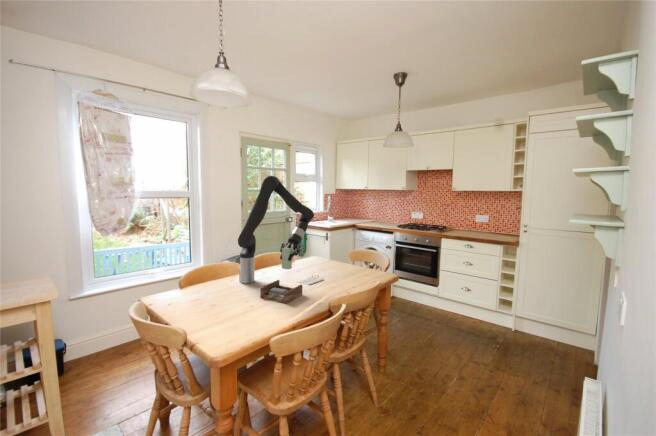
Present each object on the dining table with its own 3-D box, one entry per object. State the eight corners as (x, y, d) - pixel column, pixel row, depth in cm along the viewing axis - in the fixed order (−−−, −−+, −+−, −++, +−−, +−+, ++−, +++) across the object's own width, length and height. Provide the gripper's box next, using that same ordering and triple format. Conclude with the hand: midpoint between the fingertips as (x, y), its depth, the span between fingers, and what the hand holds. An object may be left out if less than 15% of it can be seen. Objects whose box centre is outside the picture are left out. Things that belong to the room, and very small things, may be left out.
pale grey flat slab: (278, 288, 183) (291, 293, 175) (278, 284, 182) (291, 288, 175) (311, 277, 207) (323, 281, 199) (311, 273, 206) (323, 277, 199)
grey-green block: (281, 268, 168) (281, 248, 166) (284, 267, 170) (284, 247, 169) (288, 269, 165) (288, 249, 164) (291, 268, 168) (291, 248, 167)
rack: (260, 299, 162) (260, 287, 161) (277, 291, 176) (277, 279, 175) (286, 306, 154) (286, 293, 153) (302, 296, 168) (302, 284, 167)
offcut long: (267, 297, 163) (267, 292, 163) (273, 294, 168) (273, 290, 167) (284, 301, 158) (284, 296, 157) (290, 298, 162) (290, 293, 162)
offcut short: (269, 293, 162) (269, 289, 162) (273, 290, 166) (273, 287, 166) (283, 295, 159) (283, 292, 159) (287, 293, 163) (287, 289, 163)
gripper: (284, 231, 176) (272, 254, 166) (304, 234, 169) (292, 257, 160) (289, 239, 181) (277, 261, 171) (308, 241, 174) (297, 265, 165)
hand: (284, 259), depth 166 cm, fingers closed on grey-green block, 5 cm apart
